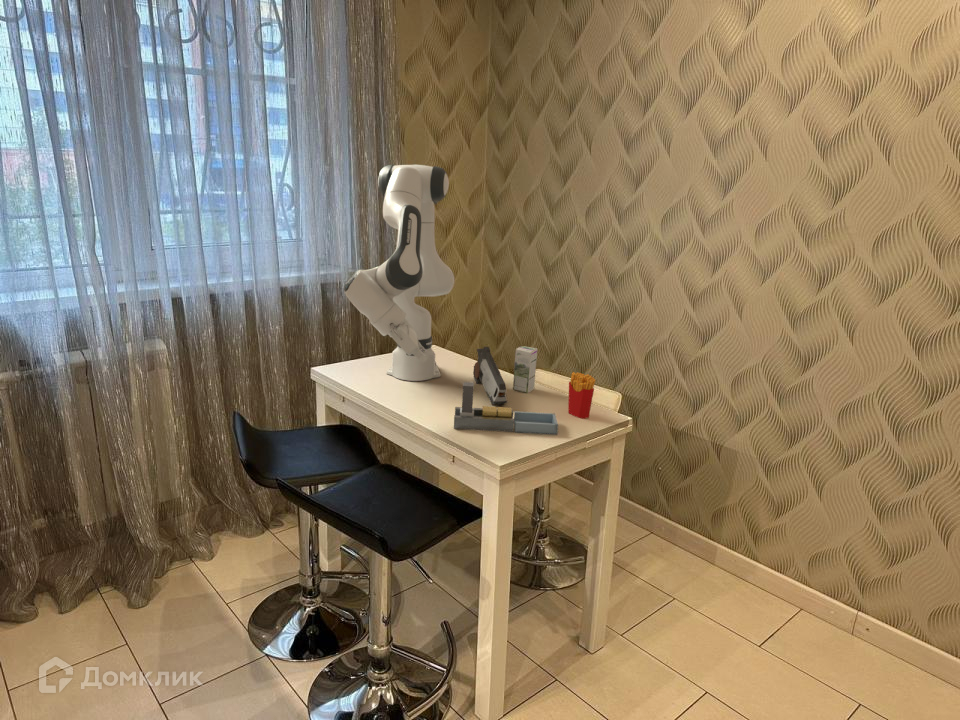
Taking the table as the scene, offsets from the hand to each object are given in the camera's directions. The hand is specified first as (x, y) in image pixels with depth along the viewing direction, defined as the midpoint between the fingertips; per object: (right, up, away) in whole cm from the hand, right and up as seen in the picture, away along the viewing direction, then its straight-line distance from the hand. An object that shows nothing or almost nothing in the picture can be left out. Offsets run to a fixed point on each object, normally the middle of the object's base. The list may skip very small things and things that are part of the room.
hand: (424, 356), depth 194 cm
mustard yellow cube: (+22, -19, +6) cm, 30 cm away
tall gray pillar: (+12, -18, +6) cm, 22 cm away
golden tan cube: (+18, -19, +6) cm, 27 cm away
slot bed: (+17, -20, +6) cm, 26 cm away
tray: (+32, -21, +6) cm, 38 cm away
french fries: (+46, -18, +18) cm, 53 cm away
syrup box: (+30, -11, +38) cm, 50 cm away
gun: (+18, -12, +33) cm, 40 cm away
